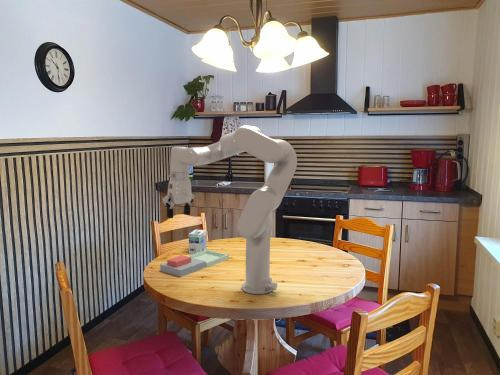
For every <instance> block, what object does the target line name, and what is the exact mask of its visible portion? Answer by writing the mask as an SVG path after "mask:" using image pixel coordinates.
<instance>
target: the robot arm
mask: <svg viewBox="0 0 500 375" xmlns="http://www.w3.org/2000/svg"><path fill="white" fill-rule="evenodd" d="M170 150H171V151H170V174H169V175H168V176H169V178H170V179H169V182H168V186H167V194H166V195H165V196H164V197H162V199H161V201H162V203H163V206H165V208H166V217H167V218H169V219H173V218H174V208H173V207H174V206H175V205H180V204H182V205H183V204H184V206H183V214H184V215H187V216H190V215H191V207H192V204H193V202H194V200H195V194H193V193H192V182H191V179H190V178H189V175H190V167H196V166H197V167H198V166H205V165H209V164H212V163H215V162H216V163H217V162H218V161H221V160H224V159H227V158H230V157H233V156H236V155H239V154H241V153H245V152H246V153H247V154H250V155H252V156H253V157H255V158H257V159H259V160H260V161H262V162H264V163H269V164H274V165H273V167H272V169H271V170H270V172H269V174H268V176H267V178H266V180H265V182H264V184H263V185H262V187H260V188H258V189H256V190H254V191H253V192H252V193H251V194H250V195H249V197H248V199H247V202H246V204H245V206H244V208H243V209H242V212H241V214H240V216H239V219H238V220H237V226H236V227H237V233H238V234H239V235H240V237H241V238H243V239H245V282H243V283H242V284H241V290H242V291H243V292H244V293H247V294H252V295H264V294H268V293H271V292H272V291H277V288H278V282H273V278H272V277H271V276H270V275H271V272H270V271H271V270H270V268H271V266H270V264H271V263H270V262H271V260H270V259H271V258H270V257H271V238H272V230H273V221H272V217H271V215H270V214H271V212H273V211H275V210H277V209H278V208H279V206H281V203H282V200H283V198H284V196H285V194H286V192H287V190H288V188H289V185H290V184H291V181H292V179H293V177H294V175H295V172H296V169H297V166H298V158H297V157H298V156H297V153H296V151H295V149H294V147H293V146H292V145H291V144H290V143H289V142H288V141H286V140H285V139H284V140H283V139H277V138H275V139H273V138H271V137H270V136H266V135H264V134H263V131H262V130H261V129H260V128H259V127H257V126H254V125H253V126H252V125H241V126H238V128H237V129H236V130H235V131H233V132H230V133H228V134H227V133H226V134H225V135H222V136H220V139H219V140H218V141H217V142H213V143H212V144H209V145H206V146H195V147H194V146H193V147H187V146H172V147H171V149H170Z"/></svg>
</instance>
